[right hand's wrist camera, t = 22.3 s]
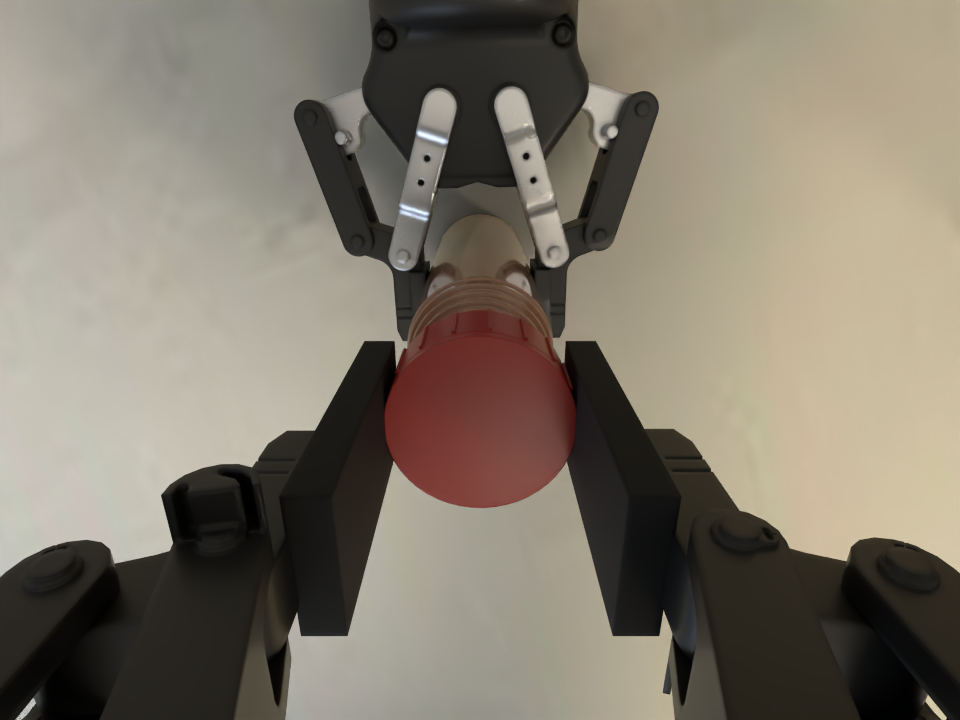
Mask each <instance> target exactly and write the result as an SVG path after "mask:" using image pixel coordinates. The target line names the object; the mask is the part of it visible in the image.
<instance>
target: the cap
mask: <svg viewBox="0 0 960 720" xmlns="http://www.w3.org/2000/svg"><path fill="white" fill-rule="evenodd" d="M571 390H573V386H572V384H571V381H570V378H569V375H568V373H567V370H566V367H565V364H564V363H561V361H560V358H559V357H558V355H557V353H556V351H555V349H554V348H553V346H552V345H551V342H550V339H549V338H548V337H546V338H545V337H544V336H543V335H542V334H541V333H540V332H539V331H538V330H537V329H535V328H534V327H533V326H531V325H530V324H528V323H526V322H525V321H524V319H523V318H520V319H518V318H516V317H514V316H511V315H508V314H504V313H501V312H495V311H491V309H488V311H484V310H475V311H465V312H461V313H458V312H457V311H456V312H454V314H453V315H450V316H447V317H445V318H442V319H440V320H438V321H436V322H434V323H433V324H431V325H430V326H427V325H426V326H425V327H424V329H423V331H422V332H421V333H420V334H419V335H417V336H416V337H415V339H414V340H413V341H412V342H411V343H410V345H409V346H408V348H407V349H406V348H404V349H403V351H402V354H401V357H400V360H399V363H398V366H397V368H396V371H395V377H394V380H393V383H392V385H391V388H390V391H389V394H388V397H387V401H386V404H385V409H384V419H385V433H386V443H387V446H388V449H389V452H390V454H391V456H392V458H393V460H394V462H395V463H396V465H397V466H398V468H399V469H400V470H401V472H402V473H403V474H404V475H405V476H406V477H407V478H408V480H410V481H411V482H412V483H413V484H414V485H415V486H416V487H418V488H419V489H421V490H422V491H424V492H425V493H427V494H429V495H431V496H433V497H434V498H436V499H439V500H441V501H444V502H447V503H450V504H454V505H458V506H464V507H471V508H488V507H497V506H502V505H507V504H511V503H514V502H517V501H520V500H522V499H524V498H526V497H529V496H530V495H532V494H534V493H536V492H537V491H539V490H540V489H542V488H543V487H544V486H546V485H547V484H548V483H549V482H550V481H551V480H552V479H553V478H554V477H555V476H556V475H557V474H558V473H559V471H560V470H561V469H562V468H563V466H564V465H565V463H566V461H567V459H568V458H569V456H570V453H571V451H572V449H573V446H574V438H575V424H576V405H575V401H574V398H573V395H572V392H571Z"/></svg>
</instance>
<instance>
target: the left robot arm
mask: <svg viewBox="0 0 960 720" xmlns="http://www.w3.org/2000/svg"><path fill="white" fill-rule="evenodd" d="M369 8H370V21H371V33H372V52H371V58H370V61H369V65H368V68H367V70H366V72H365V74H364V77H363V81H362V87H361V88H358V89H355V90H353V91H350V92H347V93H344V94H341V95H338V96H335V97H332V98H329V99H326V100H323V101H318V100H304V101H302V102H300V103H299V104H298V105H297V107H296V108H295V111H294V120H295V123H296V125H297V128H298V131H299V133H300V136H301V138H302V141H303V143H304V146H305V148H306V151H307V154H308V156H309V159H310V161H311V164H312V166H313V169H314V171H315V174H316V176H317V179H318V182H319V184H320V187H321V189H322V192H323V194H324V197H325V199H326V202H327V205H328V207H329V210H330V212H331V215H332V217H333V220H334V222H335V225H336V227H337V230H338V233H339V235H340V238H341V240H342V243H343V245H344V247H345V249H346V251H347V252H348V253H350V254H351V255H354V256H364V255H366V256H369V257H372V258H375V259H378V260H380V261H383V262H384V263H386V264H387V265H388V266H389V267H390V269H391V271H392V273H393V278H394V291H395V304H396V316H397V329H398V332H399V334H400V336H401V338H402V340H403V341H408V333H409V329H410V325H411V323H412V320H413V317H414V314H415V312H416V309H417V306H418V303H419V301H420V298H421V295H422V292H423V289H424V287H425V284H426V281H427V278H428V276H429V273H430V261H425V258H424V244H425V240H426V237H427V233H428V229H429V225H430V222H431V218H432V214H433V211H434V208H435V204H436V201H437V197H438V194H439V190H440V188H459V187H462V186H465V185H469V184H472V183H475V182H480V183H484V184H487V185H491V186H495V187H516V189H517V193H518V196H519V199H520V202H521V205H522V208H523V211H524V214H525V217H526V220H527V223H528V227H529V230H530V233H531V236H532V239H533V243H534V246H535V259H530V271H531V274H532V277H533V279H534V282H535V285H536V288H537V290H538V293H539V296H540V298H541V301H542V304H543V307H544V309H545V312H546V315H547V318H548V320H549V323H550V326H551V330H552V335H553V338H560V336H561V334H562V331H563V329H564V327H565V303H566V278H567V269H568V266H569V265H570V263H571V262H572V261H573V260H574V259H575V258H576V257H578V256H580V255H583V254H586V253H588V252H591V251H594V250H595V251H602V250H605V249H607V248H608V247H610V245H611V244H612V243H613V241H614V238H615V235H616V233H617V230H618V227H619V224H620V221H621V218H622V215H623V212H624V209H625V207H626V204H627V201H628V198H629V195H630V192H631V189H632V186H633V183H634V180H635V178H636V175H637V172H638V169H639V166H640V163H641V160H642V157H643V154H644V152H645V149H646V146H647V143H648V140H649V137H650V134H651V131H652V128H653V126H654V123H655V120H656V117H657V114H658V109H659V105H658V101H657V99H656V97H655V96H654V95H653V94H652V93H650V92H646V91H641V92H637V93H634V94H628V93H624V92H621V91H617V90H614V89H611V88H607V87H604V86H600V85H597V84H594V83H590V82H589V78H588V74H587V71H586V69H585V67H584V65H583V62H582V60H581V57H580V54H579V50H578V45H577V16H578V0H369ZM580 110H582V111H583V112H584V113H585V114H586V115H587V117H588V119H589V131H588V135H589V139H590V141H591V143H592V144H593V145H594V146H596V147H599V148H600V149H599V152H598V155H597V158H596V161H595V164H594V168H593V171H592V174H591V177H590V180H589V183H588V186H587V190H586V193H585V196H584V199H583V202H582V205H581V209H580V212H579V215H578V218H577V219H575V220H572V221H570V222H567V223H565V224H562V223H561V220H560V216H559V213H558V209H557V203H556V198H555V195H554V191H553V188H552V184H551V181H550V177H549V174H548V171H547V167H546V164H545V160H546V158H547V157H548V155H549V154H550V153H551V151H552V150H553V148H554V147H555V145H556V144H557V142H558V141H559V140H560V138H561V137H562V135H563V134H564V132H565V131H566V130H567V128H568V127H569V125H570V124H571V122H572V121H573V120H574V118H575V117H576V115H577V114H578V112H579V111H580ZM371 114H372V115H373V117H374V118H375V119H376V121H377V122H378V123H379V125H380V126H381V127H382V129H383V130H384V131H385V133H386V134H387V135H388V137H389V138H390V139H391V140H392V142H393V143H394V144H395V146H396V147H397V148H398V150H399V151H400V152H401V154H402V155H403V156H404V158H405V159H406V160H407V162H408V163H409V165H408V169H407V173H406V178H405V182H404V186H403V190H402V194H401V198H400V203H399V211H398V216H397V220H396V224H395V228H394V227H391V226H388V225H385V224H382V223H380V222H379V219H378V217H377V214H376V211H375V208H374V205H373V203H372V200H371V197H370V194H369V192H368V189H367V186H366V183H365V181H364V178H363V175H362V172H361V170H360V167H359V164H358V161H357V159H356V156H355V153H356V152H358V151H360V150H361V149H362V147H363V145H364V142H365V135H364V123H365V121H366V119H367V118H368V117H369V116H370V115H371Z"/></svg>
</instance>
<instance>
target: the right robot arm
mask: <svg viewBox="0 0 960 720" xmlns="http://www.w3.org/2000/svg"><path fill="white" fill-rule="evenodd" d="M565 367H566V370H567V373H568V375H569V378H570V381H571V384H572V386H573V390H571V392H572V395H573V398H574V401H575V405H576V424H575V438H574V446H573V449H572V451H571V453H570V456H569V458H568V459H567V464H568V467H569V471H570V475H571V479H572V483H573V486H574V490H575V494H576V498H577V502H578V505H579V509H580V513H581V517H582V521H583V524H584V528H585V532H586V536H587V540H588V543H589V547H590V551H591V555H592V559H593V562H594V566H595V570H596V574H597V578H598V581H599V585H600V589H601V593H602V597H603V600H604V604H605V608H606V612H607V616H608V619H609V623H610V627H611V631H612V635H613V636H659V634H660V628H661V622H662V616H663V609H664V612H665V615H666V617H667V620H668V622H669V625H670V628H671V630H672V633H673V635H672V641H671V647H670V652H669V658H668V664H667V670H666V676H665V681H664V688H663V693H665V694H670V692H671V687H672V695H673V705H674V715H675V720H941V719H940V718H939V717H938V716H937V715H936V714H935V713H934V712H933V711H932V709H931V708H930V707H929V706H928V704H927V703H926V702H925V701H926V698H927V696H928V695H929V696H930V697H931V699H932V700H933V701H934V702H935V704H936V705H937V706H938V707H939V708H940V710H941V711H942V712H943V713H944V715H945V716H946V717H947V719H946V720H960V573H959V572H958V571H956V570H955V569H954V568H953V567H951V566H950V565H948V564H947V563H946V562H944V561H943V560H941V559H940V558H939V557H937V556H935V555H933V554H931V553H929V552H927V551H925V550H923V549H921V548H919V547H917V546H914V545H912V544H909V543H904V542H902V541H897V540H893V539H884V538H869V539H863V540H859V541H858V542H857V543H855V544H854V545H853V546H852V547H851V549H850V553H849V556H848V559H847V562H846V561H841V560H837V559H832V558H827V557H823V556H818V555H813V554H808V553H804V552H801V551H797V550H793V549H790V548H789V546H788V544H787V542H786V540H785V539H784V538H783V536H782V535H781V533H780V532H779V531H778V530H777V529H776V528H774V527H773V526H772V525H770V524H769V523H768V522H766V521H765V520H763V519H760V518H758V517H756V516H754V515H752V514H749V513H746V512H742V511H739V509H738V508H737V506H736V505H735V503H734V502H733V501H732V499H731V498H730V496H729V495H728V493H727V492H726V490H725V489H724V487H723V486H722V485H721V483H720V482H719V480H718V479H717V477H716V476H715V474H714V473H713V472H711V468H710V467H709V466H708V464H707V463H706V461H705V460H703V459H702V455H701V454H700V452H699V451H698V450H697V448H696V447H695V445H694V444H693V442H692V441H690V440H689V439H687V438H686V437H684V436H683V435H682V434H680V433H679V432H677V431H676V430H674V429H644V428H643V426H642V424H641V422H640V420H639V418H638V417H637V415H636V413H635V411H634V409H633V408H632V406H631V404H630V402H629V400H628V399H627V397H626V395H625V393H624V391H623V390H622V388H621V386H620V384H619V382H618V381H617V379H616V377H615V375H614V373H613V371H612V370H611V368H610V366H609V364H608V362H607V361H606V359H605V357H604V355H603V353H602V352H601V350H600V348H599V346H598V344H597V343H596V341H566V347H565ZM395 371H396V358H395V342H394V341H364V343H363V345H362V347H361V349H360V350H359V352H358V354H357V356H356V358H355V359H354V361H353V363H352V365H351V367H350V369H349V370H348V372H347V374H346V376H345V378H344V379H343V381H342V383H341V385H340V387H339V388H338V390H337V392H336V394H335V396H334V397H333V399H332V401H331V403H330V405H329V407H328V408H327V410H326V412H325V414H324V416H323V417H322V419H321V421H320V423H319V425H318V426H317V428H316V430H315V431H286V432H285V433H283V434H282V435H280V436H279V437H277V438H276V439H274V440H273V441H271V442H270V443H269V444H268V445H267V446H266V448H265V449H264V451H263V452H262V454H261V455H260V457H259V458H258V461H256V463H255V464H254V466H253V467H248V466H244V465H240V464H221V465H216V466H211V467H206V468H202V469H199V470H197V471H194V472H192V473H189V474H186V475H184V476H183V477H181V478H180V479H178V480H176V481H175V482H173V483H172V484H170V485H169V487H168V488H167V489H166V490H165V491H164V493H163V494H162V495H161V497H162V501H163V505H164V509H165V513H166V516H167V520H168V524H169V528H170V532H171V536H172V540H173V545H172V547H171V550H170V551H168V552H165V553H161V554H158V555H154V556H149V557H144V558H140V559H135V560H130V561H126V562H121V563H116V564H114V561H113V558H112V554H111V551H110V549H109V548H108V547H107V546H105V545H104V544H103V543H102V542H96V541H90V540H81V541H72V542H66V543H62V544H58V545H56V546H55V545H54V546H51V547H48V548H45V549H43V550H42V551H40V552H37V553H35V554H33V555H31V556H29V557H27V558H25V559H23V560H22V561H21V562H19V563H18V564H17V565H15V566H14V567H12V568H11V569H10V570H8V571H7V572H6V573H5V574H3V575H2V576H1V577H0V720H15V719H16V718H17V717H18V716H19V714H20V713H21V712H22V711H23V709H24V708H25V707H26V706H27V705H28V703H29V702H30V701H31V700H32V698H33V697H34V699H35V702H36V704H35V706H34V707H33V708H32V709H31V711H30V712H29V713H28V714H27V715H26V716H25V717H24V718H23V719H22V720H285V716H286V706H287V697H288V687H289V677H290V667H291V653H290V647H289V641H288V634H289V631H290V629H291V626H292V624H293V621H294V618H295V616H296V613H298V620H299V626H300V632H301V636H348V632H349V628H350V624H351V621H352V617H353V613H354V609H355V605H356V602H357V598H358V594H359V590H360V586H361V583H362V579H363V575H364V571H365V567H366V564H367V560H368V556H369V552H370V548H371V545H372V541H373V537H374V533H375V529H376V526H377V522H378V518H379V514H380V510H381V507H382V503H383V499H384V495H385V491H386V488H387V484H388V480H389V476H390V472H391V469H392V465H393V461H394V460H393V458H392V456H391V454H390V452H389V449H388V446H387V443H386V433H385V419H384V409H385V404H386V401H387V397H388V394H389V391H390V388H391V385H392V383H393V380H394V377H395Z"/></svg>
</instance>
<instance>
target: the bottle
mask: <svg viewBox="0 0 960 720" xmlns="http://www.w3.org/2000/svg"><path fill="white" fill-rule="evenodd" d="M488 309H491V311H495V312H501V313H504V314H508V315H511V316H514V317H516V318H518V319H520V318H523V319H524V321H525V322H526V323H528V324H530V325H531V326H533V327H534V328H535V329H537V330H538V331H539V332H540V333H541V334H542V335H543V336H544V337H545V338H546V337H548V338H549V339H550V342H551V345H552V346H553V335H552V330H551V326H550V323H549V320H548V318H547V315H546V312H545V309H544V307H543V304H542V301H541V298H540V296H539V293H538V290H537V288H536V285H535V282H534V279H533V277H532V274H531V271H530V268H529V266H528V263H527V260H526V257H525V255H524V252H523V249H522V246H521V244H520V241H519V239H518V237H517V235H516V233H515V232H514V230H513V229H512V228H511V227H510V226H509V225H508V224H507V223H505V222H504V221H502V220H501V219H499V218H497V217H494V216H491V215H485V214H475V215H470V216H466V217H464V218H462V219H460V220H458V221H456V222H455V223H454V224H453V225H451V226H450V228H449V229H448V230H447V231H446V232H445V234H444V236H443V238H442V240H441V242H440V245H439V248H438V251H437V253H436V256H435V259H434V262H433V265H432V267H431V270H430V273H429V276H428V278H427V281H426V284H425V287H424V289H423V292H422V295H421V298H420V301H419V303H418V306H417V309H416V312H415V314H414V317H413V320H412V323H411V325H410V329H409V333H408V342H407V348H408V346H409V345H410V343H411V342H412V341H413V340H414V339H415V337H416V336H417V335H419V334H420V333H421V332H422V331H423V329H424V327H425V326H426V325H427V326H430V325H431V324H433V323H434V322H436V321H438V320H440V319H442V318H445V317H447V316H450V315H453V314H454V312H456V311H457V312H458V313H461V312H465V311H475V310H484V311H488Z"/></svg>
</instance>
